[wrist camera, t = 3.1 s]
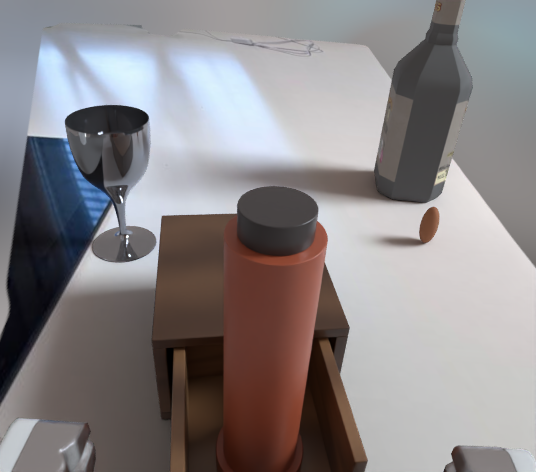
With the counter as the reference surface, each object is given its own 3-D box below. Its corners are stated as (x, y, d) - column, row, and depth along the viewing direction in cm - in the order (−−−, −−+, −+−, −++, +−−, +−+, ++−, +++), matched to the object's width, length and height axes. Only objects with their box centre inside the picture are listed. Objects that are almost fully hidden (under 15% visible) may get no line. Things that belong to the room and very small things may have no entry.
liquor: (376, 199, 67) (428, -48, 51) (372, 170, 75) (415, -53, 58) (442, 205, 67) (516, -42, 50) (431, 176, 74) (492, -48, 58)
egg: (433, 248, 58) (444, 212, 55) (416, 245, 58) (426, 210, 56) (431, 238, 60) (442, 204, 57) (415, 236, 60) (424, 202, 57)
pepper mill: (218, 507, 30) (215, 245, 18) (213, 424, 34) (209, 176, 23) (309, 497, 31) (359, 240, 19) (292, 417, 35) (325, 174, 24)
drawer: (401, 655, 25) (434, 604, 21) (157, 696, 23) (144, 649, 19) (320, 369, 41) (330, 309, 37) (169, 381, 39) (163, 319, 35)
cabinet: (334, 405, 39) (350, 327, 34) (160, 420, 37) (151, 340, 32) (297, 280, 52) (305, 211, 47) (167, 286, 50) (161, 215, 45)
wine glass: (173, 235, 57) (164, 114, 49) (132, 272, 51) (114, 141, 43) (118, 218, 60) (101, 100, 51) (73, 251, 54) (45, 123, 45)
